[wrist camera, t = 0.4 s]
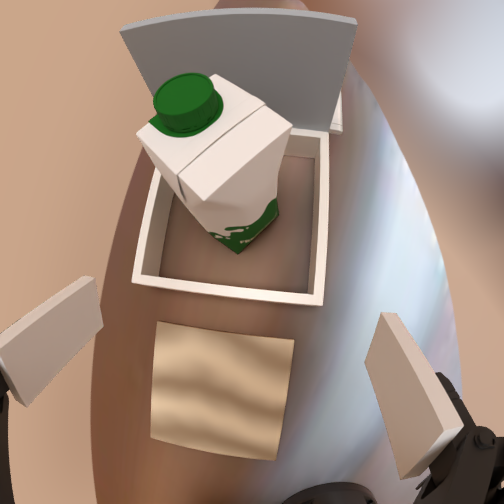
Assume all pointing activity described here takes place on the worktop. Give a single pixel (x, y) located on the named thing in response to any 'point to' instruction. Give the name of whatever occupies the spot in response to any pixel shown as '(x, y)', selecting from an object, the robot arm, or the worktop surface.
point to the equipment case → (264, 88)
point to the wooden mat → (219, 390)
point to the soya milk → (218, 154)
